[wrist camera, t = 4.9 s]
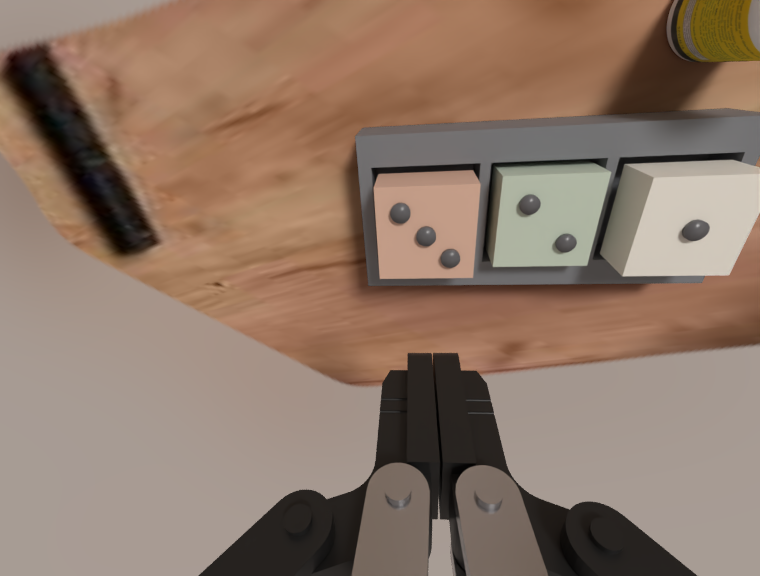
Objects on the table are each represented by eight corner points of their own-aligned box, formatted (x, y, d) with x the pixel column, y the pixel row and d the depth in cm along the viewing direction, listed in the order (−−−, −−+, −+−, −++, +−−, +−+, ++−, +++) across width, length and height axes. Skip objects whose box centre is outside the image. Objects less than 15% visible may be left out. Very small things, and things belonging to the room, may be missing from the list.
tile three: (472, 170, 21) (481, 185, 19) (466, 255, 24) (473, 280, 22) (378, 173, 22) (372, 189, 19) (383, 257, 25) (379, 281, 22)
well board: (728, 108, 22) (778, 114, 19) (669, 259, 27) (701, 283, 24) (362, 127, 24) (355, 136, 21) (373, 263, 29) (368, 285, 26)
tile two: (588, 160, 22) (614, 173, 19) (569, 245, 25) (589, 267, 22) (492, 164, 22) (504, 177, 20) (485, 247, 25) (493, 269, 23)
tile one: (732, 159, 20) (784, 174, 17) (693, 252, 23) (732, 277, 20) (624, 164, 21) (657, 179, 18) (599, 253, 23) (624, 278, 21)
